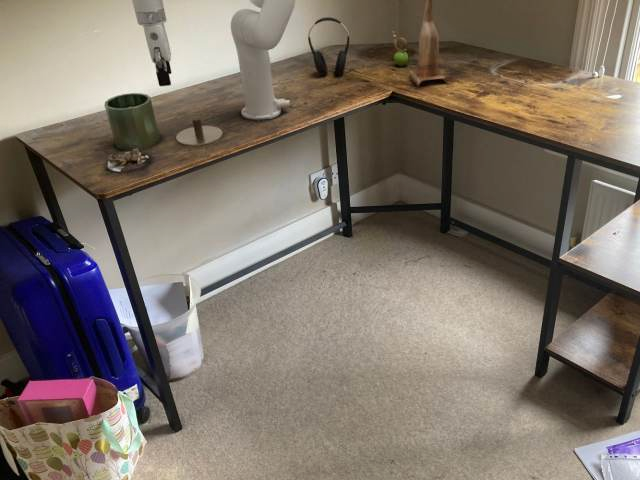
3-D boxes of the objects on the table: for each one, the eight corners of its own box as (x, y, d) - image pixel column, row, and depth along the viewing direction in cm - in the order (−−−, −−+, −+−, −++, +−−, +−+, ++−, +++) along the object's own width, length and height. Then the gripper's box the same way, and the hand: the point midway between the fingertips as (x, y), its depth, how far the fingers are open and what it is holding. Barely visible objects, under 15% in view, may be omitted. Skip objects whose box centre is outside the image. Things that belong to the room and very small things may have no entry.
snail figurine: (397, 61, 248) (396, 29, 241) (411, 64, 245) (411, 32, 238) (389, 65, 245) (388, 33, 238) (402, 68, 242) (402, 35, 235)
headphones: (351, 77, 235) (348, 20, 223) (310, 78, 235) (305, 21, 223) (351, 70, 242) (348, 13, 230) (311, 71, 242) (307, 14, 230)
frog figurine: (121, 176, 175) (117, 163, 173) (98, 163, 182) (94, 151, 179) (157, 162, 182) (154, 149, 180) (135, 150, 188) (131, 138, 186)
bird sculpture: (436, 73, 237) (439, -22, 218) (449, 83, 228) (453, -14, 209) (407, 77, 235) (408, -19, 215) (419, 87, 226) (420, -11, 206)
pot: (160, 130, 199) (150, 91, 192) (159, 147, 190) (149, 106, 182) (117, 135, 197) (106, 95, 189) (114, 153, 187) (102, 111, 180)
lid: (221, 126, 201) (218, 107, 198) (224, 144, 191) (221, 124, 187) (176, 132, 199) (172, 113, 195) (177, 150, 188) (172, 130, 184)
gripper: (164, 23, 167) (179, 88, 177) (166, 7, 180) (179, 68, 191) (134, 26, 166) (150, 91, 176) (138, 9, 179) (153, 71, 189)
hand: (165, 79), depth 183 cm, fingers open, 9 cm apart
